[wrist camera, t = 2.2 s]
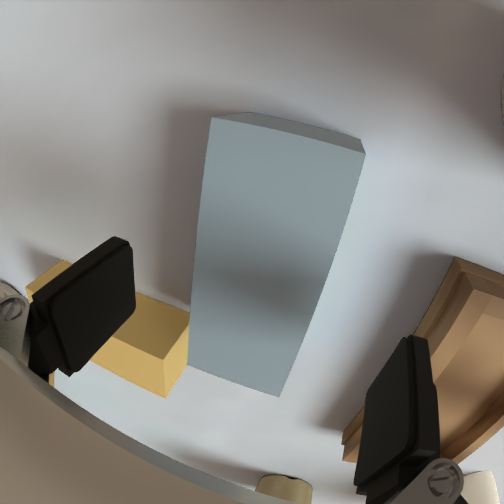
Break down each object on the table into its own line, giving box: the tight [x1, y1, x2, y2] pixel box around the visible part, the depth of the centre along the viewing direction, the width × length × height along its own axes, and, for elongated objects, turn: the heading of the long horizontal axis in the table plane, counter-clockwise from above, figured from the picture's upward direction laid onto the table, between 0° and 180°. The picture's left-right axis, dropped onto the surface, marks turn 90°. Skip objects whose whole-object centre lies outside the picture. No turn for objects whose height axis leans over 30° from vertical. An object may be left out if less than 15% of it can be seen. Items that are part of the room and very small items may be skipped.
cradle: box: [341, 257, 504, 464], centre depth 15 cm, size 16×10×3 cm, turn 170°
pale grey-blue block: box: [187, 112, 366, 397], centre depth 14 cm, size 12×5×4 cm, turn 169°
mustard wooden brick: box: [25, 260, 190, 399], centre depth 20 cm, size 4×12×4 cm, turn 80°
